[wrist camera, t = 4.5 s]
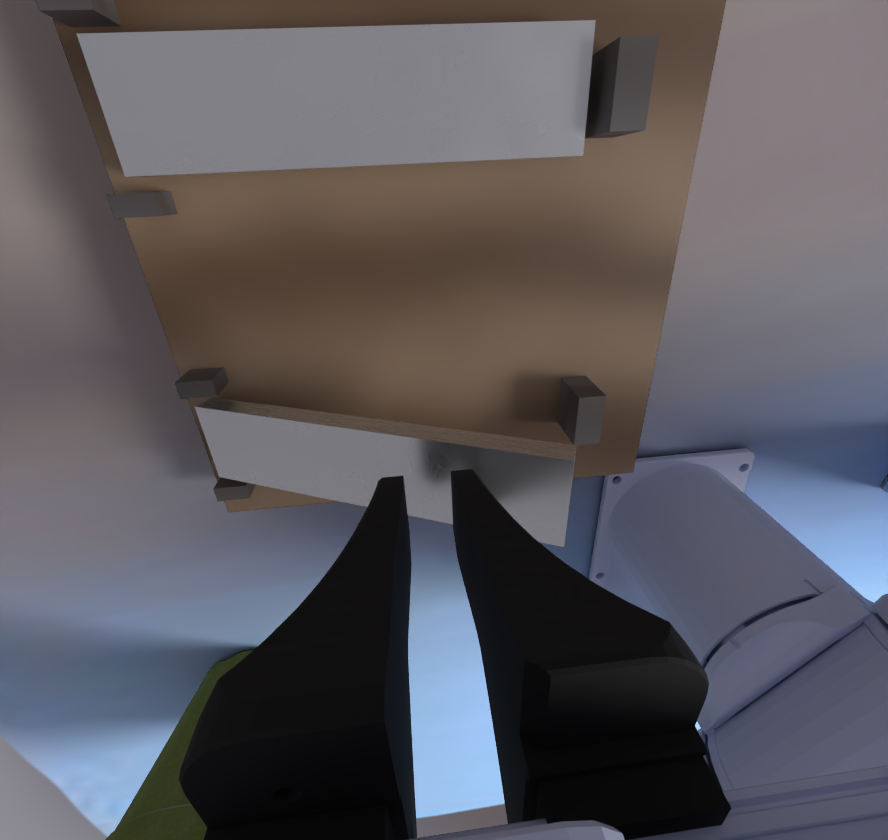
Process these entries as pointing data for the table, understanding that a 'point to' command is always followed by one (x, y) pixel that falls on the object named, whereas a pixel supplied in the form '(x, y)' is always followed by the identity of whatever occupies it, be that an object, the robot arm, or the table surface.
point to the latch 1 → (342, 95)
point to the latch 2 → (388, 461)
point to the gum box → (885, 485)
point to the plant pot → (171, 779)
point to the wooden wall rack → (430, 244)
